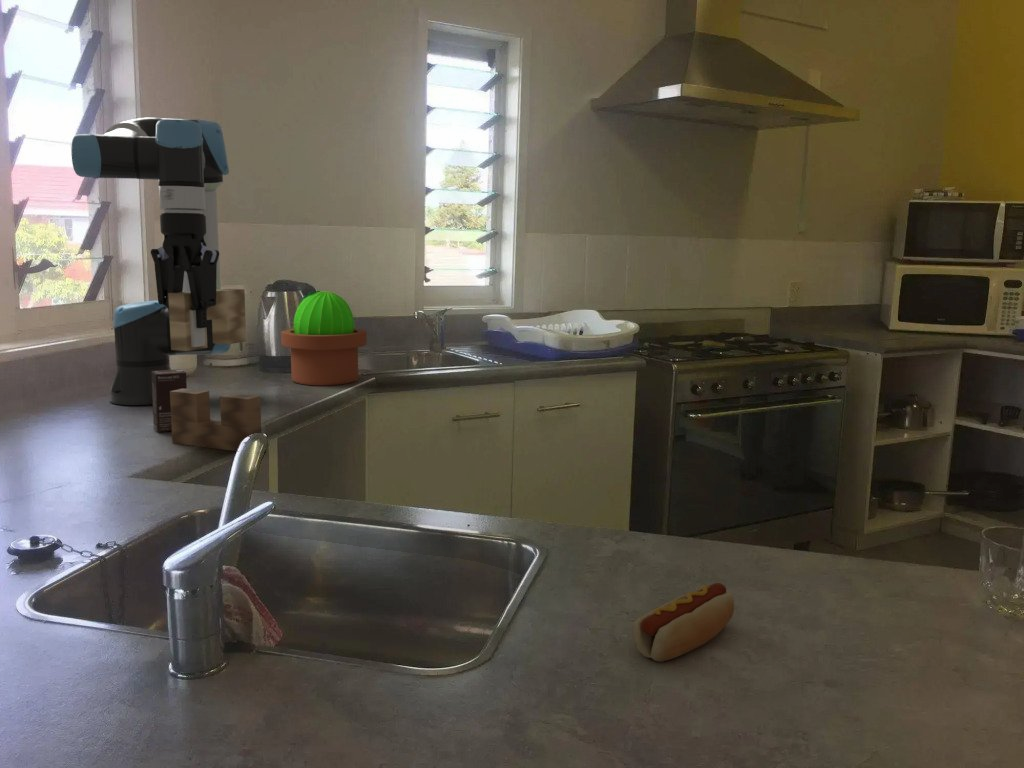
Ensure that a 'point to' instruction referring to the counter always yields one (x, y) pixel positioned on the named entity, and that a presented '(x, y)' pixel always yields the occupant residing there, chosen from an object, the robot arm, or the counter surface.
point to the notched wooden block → (202, 431)
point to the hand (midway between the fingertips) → (189, 345)
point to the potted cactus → (324, 341)
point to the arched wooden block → (208, 318)
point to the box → (165, 396)
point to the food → (683, 623)
